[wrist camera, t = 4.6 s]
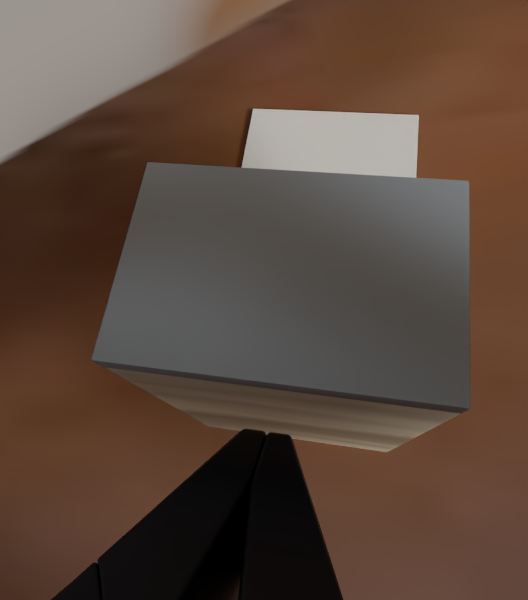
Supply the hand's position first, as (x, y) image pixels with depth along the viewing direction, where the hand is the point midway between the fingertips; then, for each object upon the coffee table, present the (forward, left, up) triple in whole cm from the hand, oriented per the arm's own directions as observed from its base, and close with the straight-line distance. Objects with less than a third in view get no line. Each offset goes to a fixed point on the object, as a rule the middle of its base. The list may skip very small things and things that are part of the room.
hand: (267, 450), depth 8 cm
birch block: (+3, +1, -8) cm, 8 cm away
